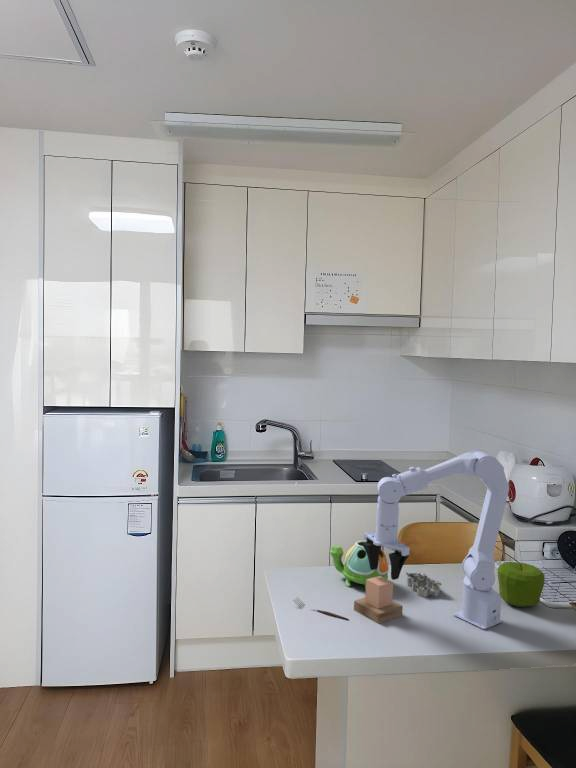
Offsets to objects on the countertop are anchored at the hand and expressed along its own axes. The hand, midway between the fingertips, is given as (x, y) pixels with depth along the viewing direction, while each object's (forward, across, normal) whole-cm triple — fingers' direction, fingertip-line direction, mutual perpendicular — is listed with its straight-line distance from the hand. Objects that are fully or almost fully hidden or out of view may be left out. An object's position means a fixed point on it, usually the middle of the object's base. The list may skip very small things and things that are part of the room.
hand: (384, 573), depth 155 cm
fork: (+11, -8, -14) cm, 20 cm away
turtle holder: (+11, -17, +9) cm, 22 cm away
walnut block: (+11, 0, -1) cm, 11 cm away
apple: (+11, +17, +38) cm, 43 cm away
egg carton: (+11, -4, +21) cm, 24 cm away
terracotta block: (+8, 0, -1) cm, 8 cm away
